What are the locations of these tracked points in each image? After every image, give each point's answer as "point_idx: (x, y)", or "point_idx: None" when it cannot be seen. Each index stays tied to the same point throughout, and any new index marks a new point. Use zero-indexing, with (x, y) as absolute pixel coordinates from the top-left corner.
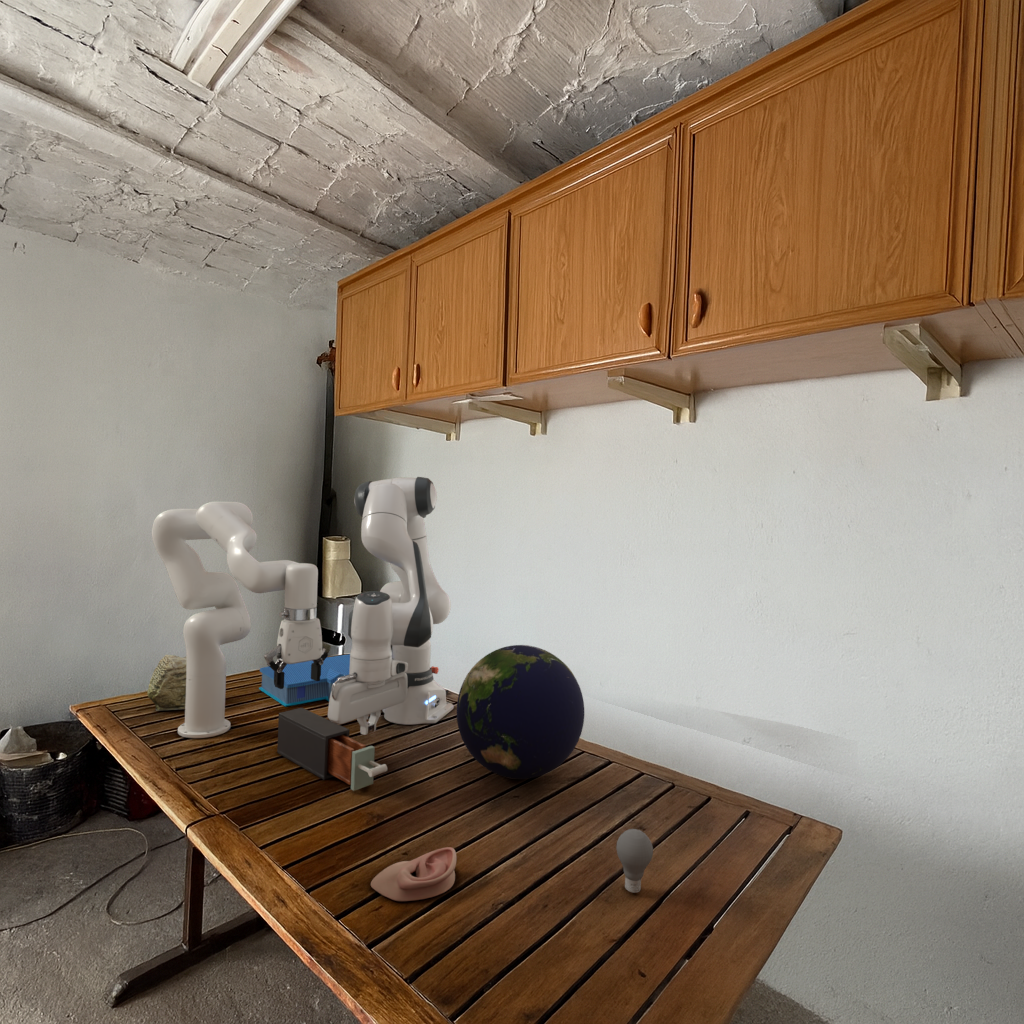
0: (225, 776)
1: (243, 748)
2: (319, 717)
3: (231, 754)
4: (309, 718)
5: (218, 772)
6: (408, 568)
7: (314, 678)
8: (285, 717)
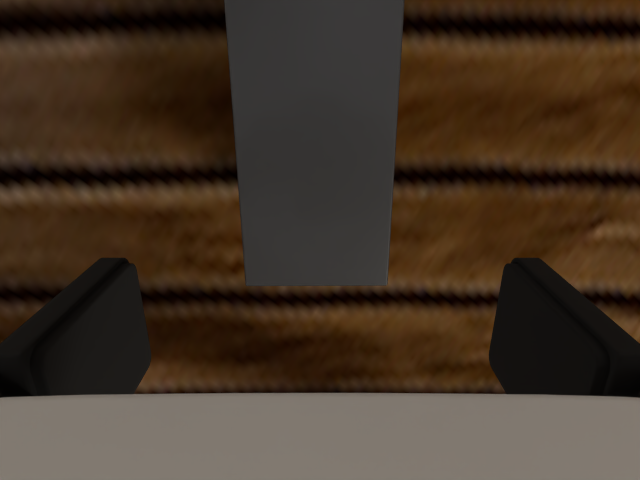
0: (603, 151)
1: (423, 321)
2: (247, 62)
3: (477, 302)
4: (306, 89)
5: (595, 198)
6: None
7: (135, 314)
8: (390, 214)
